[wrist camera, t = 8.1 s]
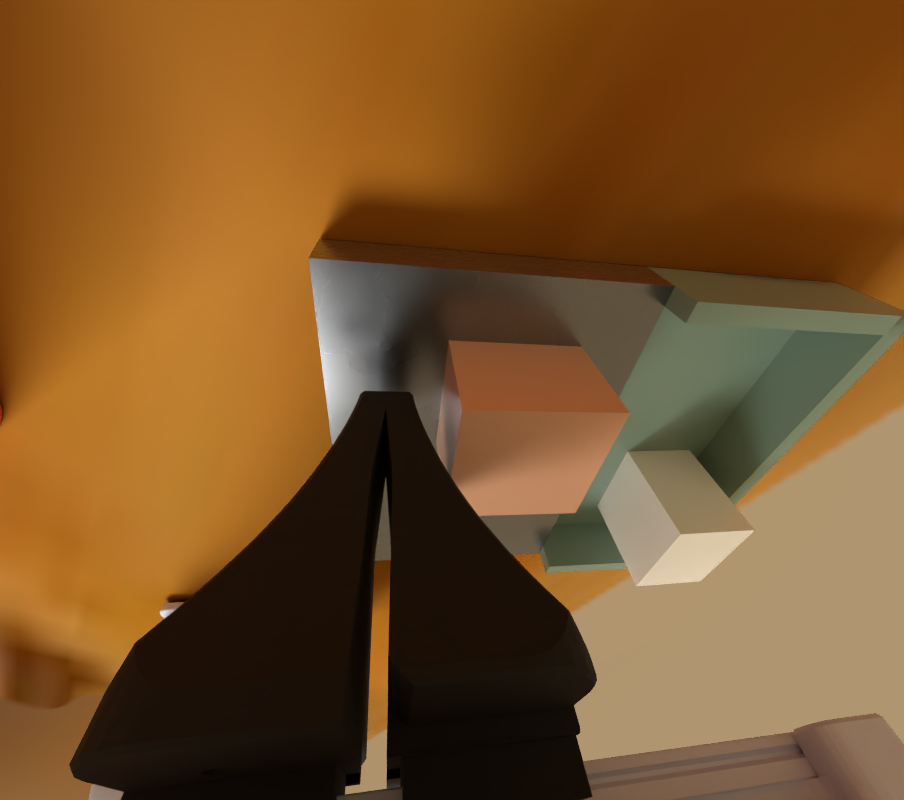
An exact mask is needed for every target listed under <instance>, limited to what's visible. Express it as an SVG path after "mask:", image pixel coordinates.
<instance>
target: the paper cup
mask: <svg viewBox="0 0 904 800" xmlns="http://www.w3.org/2000/svg"><path fill="white" fill-rule="evenodd" d="M1 421H2V407H1V404H0V424H1Z"/></svg>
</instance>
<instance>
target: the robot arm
mask: <svg viewBox="0 0 904 800" xmlns="http://www.w3.org/2000/svg"><path fill="white" fill-rule="evenodd" d="M385 479H386V485H387V501H388V515H389V530H390V545H391V570H390V612H389V653H388V725H387V789H382V790H375V791H368V792H362V793H353V794H347V795H345V786H351V785H358V784H360V777H361V765H362V764H363V763H364V761H365V760H366V750H367V749H366V748H367V725H368V699H369V674H370V650H371V627H372V604H373V583H374V564H375V554H376V546H377V538H378V531H379V524H380V516H381V509H382V502H383V494H384V487H385ZM159 613H160V615H161V616H162V617H163V618H164V619H163V620H162V621H161V622H160V623H159V624H157V625H156V626H155V627H154V628H153V629H151V630H150V631H149V632H148V633H146V634H145V635H144V636H143V637H142V638H140V639H139V640H138V641H137V642H136V643H135V644H134V646H133V647H132V649H131V651H130V652H129V654H128V656H127V657H126V659H125V661H124V662H123V664H122V666H121V667H120V669H119V670H118V672H117V673H116V675H115V677H114V678H113V680H112V682H111V683H110V685H109V687H108V688H107V690H106V692H105V694H104V696H103V698H102V700H101V702H100V704H99V706H98V708H97V710H96V712H95V714H94V716H93V718H92V720H91V722H90V724H89V726H88V728H87V730H86V732H85V734H84V737H83V738H82V740H81V742H80V744H79V746H78V748H77V750H76V752H75V754H74V756H73V758H72V760H71V762H70V764H69V765H70V768H71V771H72V773H73V776H74V778H77V779H79V780H81V781H84V782H87V783H91V784H92V788H91V792H90V796H89V800H904V744H903V742H902V741H901V740H900V738H898V736H897V735H896V733H895V732H894V731H893V729H892V728H891V727H890V726H889V724H888V723H887V722H886V720H885V719H884V718H883V717H882V716H880V715H878V714H876V713H875V714H867V715H860V716H853V717H845V718H838V719H832V720H825V721H821V722H817V723H812V724H809V725H805V726H802V727H800V728H797V729H794V732H790V733H783V734H775V735H769V736H761V737H754V738H747V739H740V740H733V741H726V742H718V743H711V744H704V745H697V746H690V747H682V748H676V749H668V750H661V751H654V752H647V753H640V754H634V755H633V754H632V755H626V756H618V757H611V758H604V759H597V760H590V761H583V760H582V756H581V752H580V749H579V745H578V741H577V738H576V735H578V734H579V733H580V726H579V722H578V719H577V715H576V712H575V708H574V705H575V704H576V703H577V702H578V701H580V700H581V699H582V698H583V697H584V696H586V695H587V694H588V693H589V692H590V691H591V690H592V689H593V687H594V686H595V684H596V681H597V678H596V673H595V670H594V666H593V663H592V660H591V657H590V655H589V652H588V650H587V647H586V645H585V643H584V641H583V638H582V636H581V634H580V632H579V630H578V628H577V626H576V624H575V622H574V620H573V618H572V616H571V614H570V612H569V610H568V609H567V608H566V607H565V606H564V605H562V604H561V603H560V602H559V601H558V600H557V599H556V598H555V597H554V596H553V595H552V594H551V593H550V592H549V591H547V590H546V589H545V588H544V587H543V586H542V585H541V584H540V583H539V582H538V581H537V580H536V579H535V578H534V577H533V576H532V575H531V574H530V573H529V572H528V571H527V570H526V569H525V568H524V567H523V566H522V565H521V563H520V562H519V561H518V560H517V559H516V558H515V557H514V556H513V555H512V554H511V553H510V552H509V551H508V550H507V549H506V547H505V546H504V545H503V544H502V543H501V542H500V540H499V539H498V538H497V537H496V536H495V535H494V533H493V532H492V531H491V530H490V529H489V528H488V526H487V525H486V524H485V523H484V522H483V521H482V519H481V518H480V517H479V516H478V514H477V513H476V512H475V510H474V509H473V508H472V506H471V505H470V504H469V502H468V501H467V500H466V498H465V497H464V495H463V494H462V493H461V491H460V490H459V488H458V487H457V485H456V484H455V482H454V481H453V479H452V478H451V476H450V474H449V473H448V471H447V470H446V468H445V466H444V465H443V463H442V461H441V459H440V458H439V456H438V454H437V452H436V450H435V449H434V447H433V445H432V443H431V441H430V439H429V437H428V435H427V433H426V430H425V428H424V426H423V424H422V421H421V419H420V416H419V414H418V411H417V408H416V405H415V401H414V397H413V395H412V394H411V393H410V392H396V391H363V392H362V393H361V394H360V396H359V399H358V401H357V403H356V405H355V408H354V410H353V412H352V414H351V415H350V417H349V419H348V421H347V423H346V424H345V426H344V428H343V429H342V431H341V433H340V434H339V436H338V438H337V439H336V441H335V442H334V444H333V445H332V447H331V449H330V450H329V451H328V453H327V454H326V456H325V457H324V458H323V460H322V461H321V463H320V464H319V465H318V467H317V468H316V470H315V471H314V472H313V474H312V475H311V476H310V477H309V479H308V480H307V481H306V483H305V484H304V485H303V486H302V487H301V489H300V490H299V491H298V492H297V493H296V495H295V496H294V497H293V498H292V499H291V501H290V502H289V503H288V504H287V505H286V506H285V507H284V508H283V509H282V511H281V512H280V513H279V514H278V515H277V516H276V517H275V518H274V519H273V520H272V521H271V522H270V523H269V525H268V526H267V527H266V528H265V529H264V530H263V531H262V532H261V533H260V534H259V535H258V536H257V537H256V538H255V539H254V540H253V541H252V542H251V543H250V544H249V545H248V546H247V547H246V548H245V549H243V550H242V551H241V552H240V553H239V554H238V555H237V556H236V557H235V558H234V559H233V560H232V561H231V562H229V563H228V564H227V565H226V566H225V567H224V568H223V569H222V570H221V571H220V572H219V573H218V574H217V575H215V576H214V577H213V578H212V579H211V580H210V581H209V582H208V583H207V584H205V585H204V586H203V587H202V588H201V589H200V590H199V591H197V592H196V593H195V594H194V595H193V596H191V597H190V598H189V599H188V600H186V601H185V602H174V603H166V604H164V605H163V606H162V607H161V609H160V612H159Z"/></svg>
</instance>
